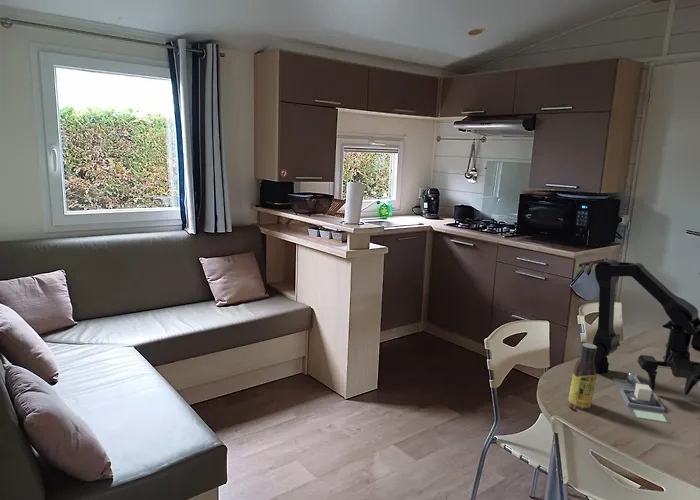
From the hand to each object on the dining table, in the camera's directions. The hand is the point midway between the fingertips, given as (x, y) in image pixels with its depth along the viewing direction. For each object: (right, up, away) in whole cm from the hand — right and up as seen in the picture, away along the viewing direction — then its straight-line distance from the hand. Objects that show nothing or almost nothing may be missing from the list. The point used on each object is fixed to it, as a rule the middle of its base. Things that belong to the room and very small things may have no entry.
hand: (668, 391), depth 159 cm
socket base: (-10, -3, -1) cm, 11 cm away
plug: (-10, -2, -3) cm, 11 cm away
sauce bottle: (-30, -3, -6) cm, 31 cm away
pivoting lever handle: (-8, 0, +4) cm, 9 cm away
